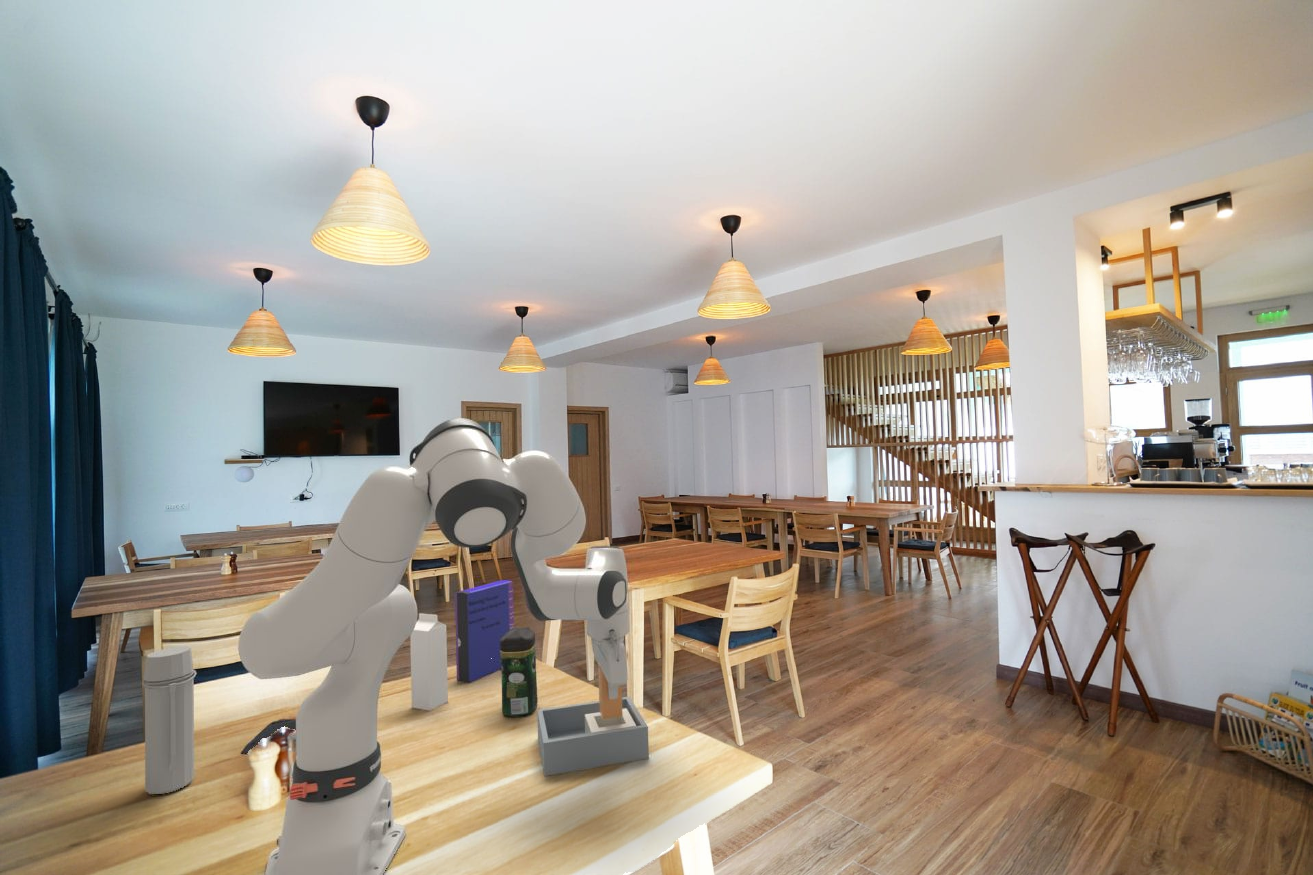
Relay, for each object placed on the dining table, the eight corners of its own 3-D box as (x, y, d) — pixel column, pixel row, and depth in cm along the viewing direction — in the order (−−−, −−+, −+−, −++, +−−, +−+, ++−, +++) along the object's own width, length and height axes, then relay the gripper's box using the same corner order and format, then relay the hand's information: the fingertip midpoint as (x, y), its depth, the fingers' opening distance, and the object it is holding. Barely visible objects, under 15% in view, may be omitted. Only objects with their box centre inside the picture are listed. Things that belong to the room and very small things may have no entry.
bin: (648, 757, 117) (647, 726, 117) (544, 775, 111) (543, 742, 112) (630, 724, 132) (629, 696, 132) (538, 738, 127) (537, 709, 127)
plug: (622, 716, 121) (620, 666, 121) (602, 719, 120) (601, 669, 120) (618, 708, 125) (617, 660, 125) (599, 711, 124) (598, 663, 124)
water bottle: (140, 788, 112) (140, 652, 113) (193, 771, 118) (192, 642, 119) (145, 807, 106) (145, 663, 107) (201, 788, 111) (200, 652, 112)
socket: (637, 745, 120) (636, 725, 120) (592, 753, 117) (591, 732, 117) (627, 727, 128) (626, 708, 128) (585, 733, 126) (584, 714, 126)
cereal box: (503, 661, 178) (500, 579, 179) (515, 663, 176) (512, 580, 177) (456, 680, 163) (454, 591, 164) (469, 683, 161) (467, 593, 162)
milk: (429, 698, 151) (428, 610, 152) (448, 701, 149) (446, 611, 150) (411, 708, 146) (409, 615, 147) (429, 711, 143) (428, 617, 144)
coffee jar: (507, 702, 147) (505, 625, 148) (540, 700, 147) (537, 624, 148) (498, 719, 137) (495, 636, 138) (532, 717, 137) (530, 635, 138)
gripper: (634, 636, 114) (636, 710, 113) (613, 611, 134) (616, 674, 133) (601, 639, 112) (603, 715, 112) (585, 614, 132) (587, 678, 132)
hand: (610, 692), depth 123 cm, fingers closed on plug, 4 cm apart
